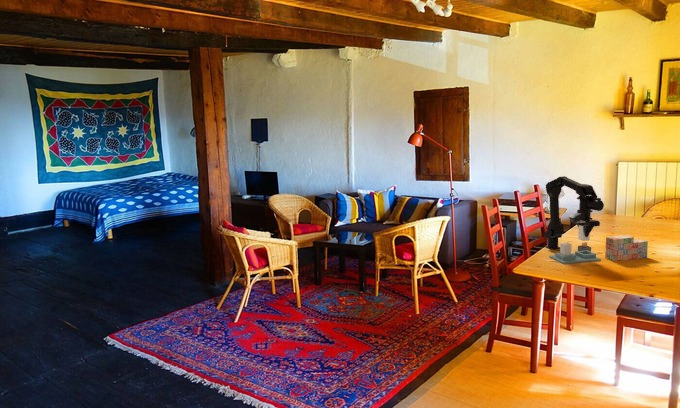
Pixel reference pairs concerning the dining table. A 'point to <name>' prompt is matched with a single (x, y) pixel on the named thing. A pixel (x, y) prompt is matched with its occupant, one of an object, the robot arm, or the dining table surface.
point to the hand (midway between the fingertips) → (584, 236)
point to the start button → (584, 244)
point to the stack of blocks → (625, 248)
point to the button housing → (584, 248)
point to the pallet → (573, 255)
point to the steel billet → (582, 234)
